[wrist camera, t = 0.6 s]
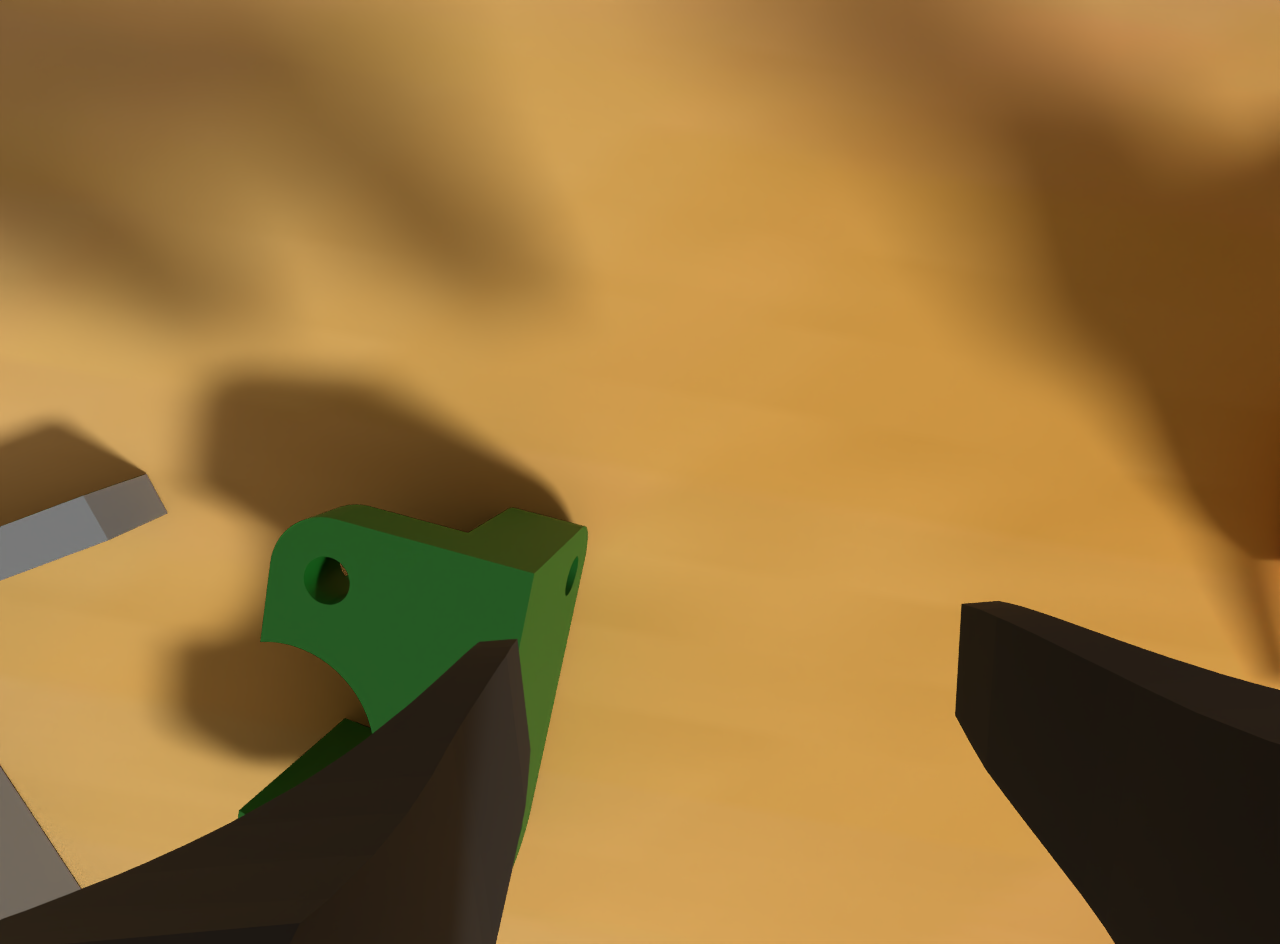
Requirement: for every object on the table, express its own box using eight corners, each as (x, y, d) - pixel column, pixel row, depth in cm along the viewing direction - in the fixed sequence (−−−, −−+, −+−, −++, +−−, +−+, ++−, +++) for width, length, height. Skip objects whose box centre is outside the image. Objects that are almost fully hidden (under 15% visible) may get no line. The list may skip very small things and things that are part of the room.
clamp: (441, 505, 25) (307, 429, 16) (605, 549, 24) (558, 494, 15) (318, 868, 22) (76, 1016, 13) (497, 929, 21) (365, 1128, 13)
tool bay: (131, 1031, 23) (77, 1115, 21) (-167, 590, 19) (-275, 629, 17) (395, 932, 23) (372, 1004, 21) (146, 473, 19) (83, 495, 17)
